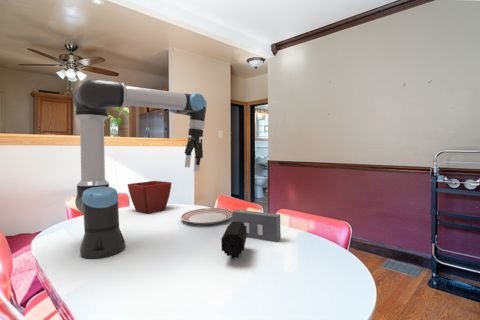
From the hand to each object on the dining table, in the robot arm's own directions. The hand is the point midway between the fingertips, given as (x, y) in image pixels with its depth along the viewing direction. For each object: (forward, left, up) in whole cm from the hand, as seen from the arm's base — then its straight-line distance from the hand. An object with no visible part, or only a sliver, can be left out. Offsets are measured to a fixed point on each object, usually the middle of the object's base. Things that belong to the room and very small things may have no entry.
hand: (191, 169), depth 144 cm
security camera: (-31, -45, -27) cm, 61 cm away
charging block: (-12, -43, -26) cm, 52 cm away
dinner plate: (+2, -8, -27) cm, 28 cm away
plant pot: (+5, +37, -27) cm, 46 cm away
